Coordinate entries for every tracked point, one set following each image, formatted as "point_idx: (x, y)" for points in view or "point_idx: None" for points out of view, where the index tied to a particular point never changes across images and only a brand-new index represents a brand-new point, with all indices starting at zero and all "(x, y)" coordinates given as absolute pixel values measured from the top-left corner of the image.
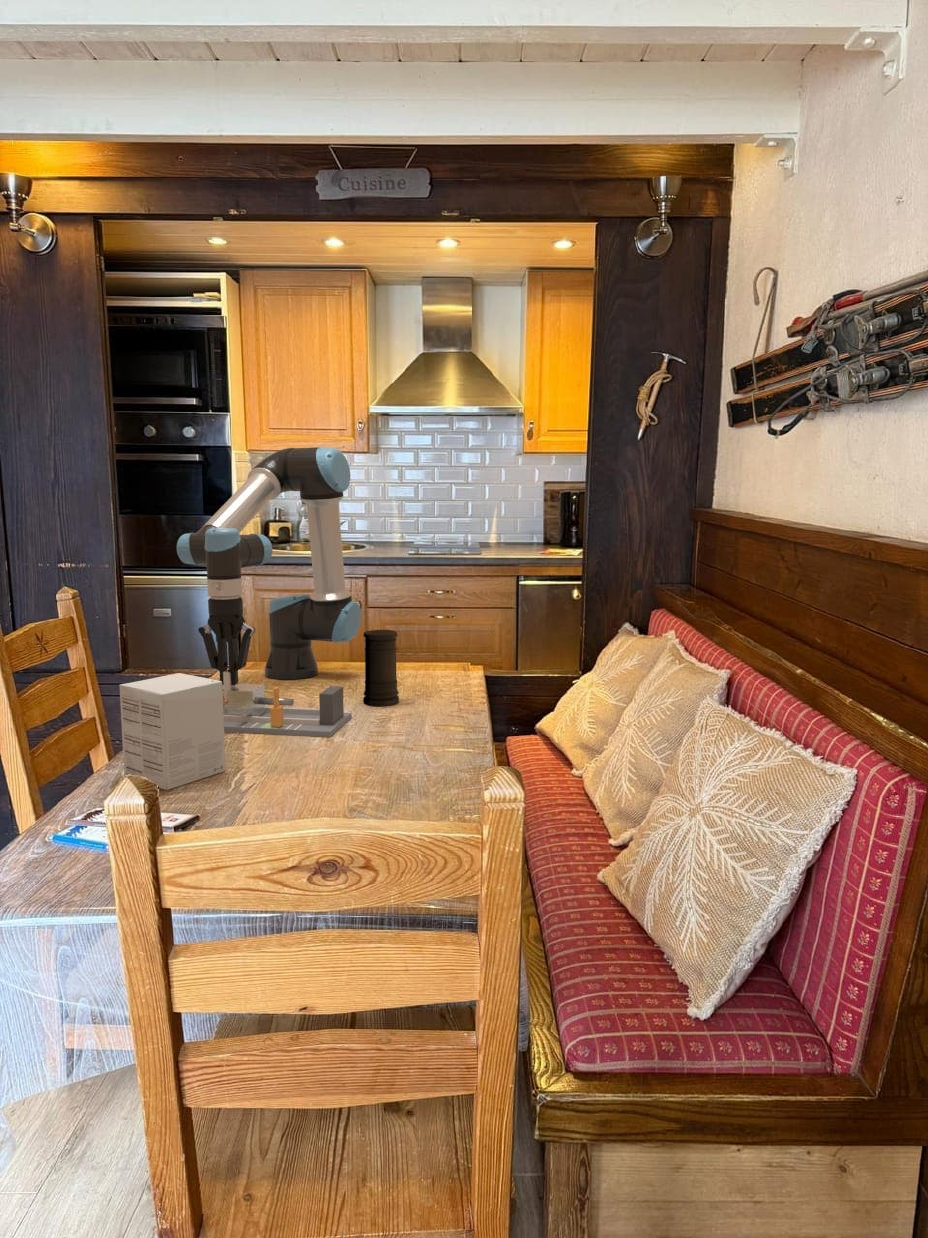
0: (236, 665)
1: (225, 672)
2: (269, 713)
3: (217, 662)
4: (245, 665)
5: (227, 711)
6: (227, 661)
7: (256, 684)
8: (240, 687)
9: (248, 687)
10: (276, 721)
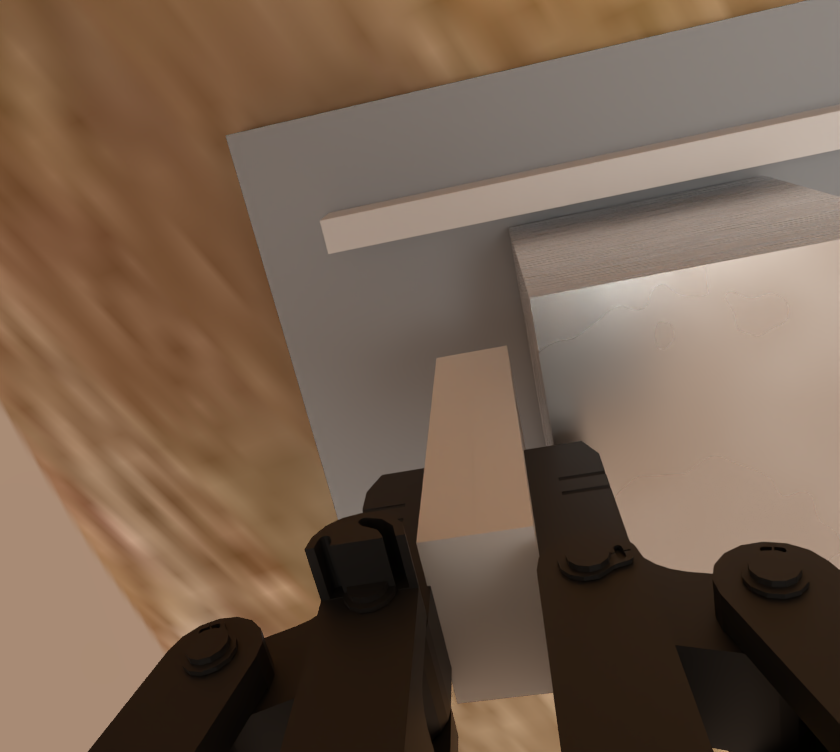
0: (710, 736)
1: (497, 693)
2: (804, 170)
3: (252, 749)
4: (824, 568)
5: (376, 255)
6: (415, 677)
7: (795, 259)
8: (659, 482)
9: (766, 452)
10: None
